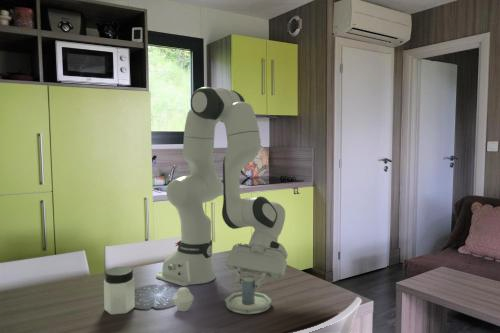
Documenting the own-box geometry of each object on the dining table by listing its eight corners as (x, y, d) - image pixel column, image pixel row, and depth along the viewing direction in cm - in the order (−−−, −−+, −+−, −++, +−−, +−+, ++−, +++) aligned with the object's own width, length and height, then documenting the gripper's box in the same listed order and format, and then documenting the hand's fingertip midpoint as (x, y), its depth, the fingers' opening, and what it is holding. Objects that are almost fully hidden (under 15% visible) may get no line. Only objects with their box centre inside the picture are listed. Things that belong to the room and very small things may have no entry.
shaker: (239, 303, 125) (240, 278, 124) (245, 298, 128) (245, 274, 127) (251, 305, 123) (252, 280, 122) (256, 301, 127) (257, 276, 126)
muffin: (175, 304, 126) (175, 283, 125) (195, 305, 126) (194, 283, 125) (171, 313, 120) (171, 290, 119) (191, 313, 119) (191, 291, 119)
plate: (218, 310, 122) (218, 304, 122) (238, 293, 135) (238, 288, 135) (260, 318, 116) (260, 313, 116) (277, 301, 129) (277, 295, 129)
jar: (102, 316, 118) (101, 276, 117) (106, 304, 126) (105, 267, 125) (134, 313, 120) (133, 274, 119) (135, 302, 128) (134, 265, 127)
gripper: (231, 237, 135) (215, 274, 127) (287, 245, 125) (273, 286, 118) (238, 247, 139) (223, 283, 132) (292, 256, 130) (279, 295, 122)
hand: (247, 284), depth 125 cm, fingers open, 5 cm apart
